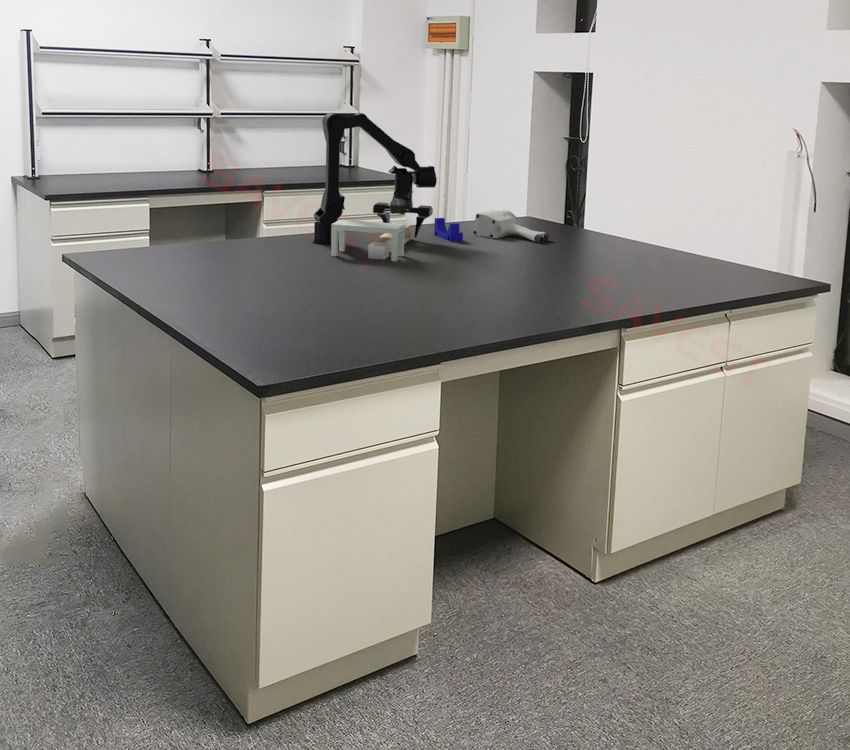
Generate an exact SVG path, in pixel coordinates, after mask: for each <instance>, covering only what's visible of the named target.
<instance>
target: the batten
mask: <svg viewBox="0 0 850 750" xmlns="http://www.w3.org/2000/svg"><path fill="white" fill-rule="evenodd" d="M411 236H412V224H406V223H405V227H404V245H405V244H406V243H408V242H409V241H410V240H412V237H411ZM378 238H379V239H378V243H388V244H389V254H391V253H392V234H386V233H382V234H381V235H379V237H378Z"/></svg>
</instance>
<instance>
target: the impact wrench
mask: <svg viewBox="0 0 850 750" xmlns="http://www.w3.org/2000/svg"><path fill="white" fill-rule="evenodd" d="M474 218H475V219H474V223H473V231H472V232H473V235H474V236H476V235H479V236H478V237H480V236H484V237H483V238H486V237H491V238H490V239H493V238H497V239H501V238H505V237H508V235H509V236H511V235H518V236H522V237H524V238H526V239H528V240H531V241H533V242H536V243H537V244H543V243H544V242H548V241H549V239H550V233H546V231H545V232H544V231H537V230H533V229H530V228H527V227H524V226H521V225H520V224H518V223H517V221H518V218H517V216H516V215H515V214H514V213H513V212H512V211H511V210H508V209H507V210H506V209H505V210H502V209H501V210H495V209H494V210H493V209H492V210H488V211H481V212H477V213H476V215H475V217H474ZM504 236H505V237H504ZM500 237H501V238H500Z"/></svg>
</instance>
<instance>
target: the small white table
mask: <svg viewBox="0 0 850 750" xmlns="http://www.w3.org/2000/svg"><path fill="white" fill-rule="evenodd" d="M405 224H406V223H405ZM405 224H404V223H393V222H392V223H391V222H390V223H383V222H381V221H380V222H379V221H365V220H352V219H351V220H350V219H339V220H337V221H336V222H335V223H333V224H331V244H330V246H331V247H330V248H331V249H330V250H331V251H330V256H331V257H337V256H338V255H339V254H338V253H339V252H343V253H344V252H345V251H346V231H347V232H350V231H351V232H362V233H364V232H365V233H373V234H375V233H376V234H384V233H386V234H392V253H390V254H391V255H390V256H391V258H390V259H391V262H397V261H398V260H399V259H398V258H399V257H404V255H405V254H404V253H405V244H404V227H405Z"/></svg>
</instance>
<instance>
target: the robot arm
mask: <svg viewBox="0 0 850 750" xmlns="http://www.w3.org/2000/svg"><path fill="white" fill-rule="evenodd" d="M358 127H359V128H360V129H361V130H362V131H363V132H364V133H365V134H367V135H368V136H369V137H370V138H371V139H373V140H374V141H375V142H377V144H379V145H380V147H382V148H384V149H385V151H386V153H387V154H388V155H389V156H390V158H391V159H392V160H393V161H394V163H396V164H397V165H399V166H402V167H397V165H393V166H392V167H391V168H390V169H389V170H388V173H389V174H391V175H394V191H393V196H392V199H391V201H390V203H389V202H380V201H379V202H377V203H375V204H374V205H373V206H372V213H373V214H376V216H377V217H380V219H381V220H382V223H391V218H390V217H391V214H393V215H395V214H399V215H405V214H417V216H416V217H415V219H416V221H415V222H416V223H415V231H414V238H418V234H419V232H420V229H421V227H422V224H423V223H424V221H425V220H427V218H429V217H431V216H433V215H434V214H433V212H434V211H433V210H434V209H433V207H432V206H431V205H419V206H418V207H414V206H413V205H414V204H413V203H414V202H413V193H414V191H413V190H414V189H413V185H415V186H416V188H419V189H421V188H423V189H424V188H432V189H433V188H435V187H436V185H437V174H436V171H435V168H436V167H435V166H433V165H428V166H421V165H420V164H419V163H418V161H417V160H416V154H415V152H414V151H413V150H412V149H410V148H408V147H407V146H405V145H403V144H401V143H400V142H399V141H396V140H394V138H392V137H391V136H390V135H388V133H386V132H385V131H384V130H382V128H380V127H379V126H378V125H377V124H376V123H375V122H373V121H372V120H371V119H370V118H369V117H368V116H367V115H366V114H365V113H363V112H357V113H347V114H338V113H335V112H328V113H326V114H325V115H324V116H323V118H322V130H323V136H324V139H325V143H326V144H325V146H326V147H325V149H326V151H325V184H324V188H325V189H324V192H323V194H322V196H321V203H320V207H319V208H318V209H317V210H316V211H315V212H314V213H313V217H314V220H315V222H314V225H313V226H314V227H313V228H314V235H313V236H314V238H313V239H314V240H312V243H316V244H326V245H331V224H333V223H335V222H337V221H338V219H339V218H340V217H341V216H342V215H343V212H344V211H343V210H345V199H346V197H345V196H344V195H343V194H341V193H340V153H341V152H340V151H341V142H342V140H343V138H344V137H343V136H344V133H345V130H347V129H348V130H349V129H353V128H358ZM407 168H408V169H411V170H407Z"/></svg>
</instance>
